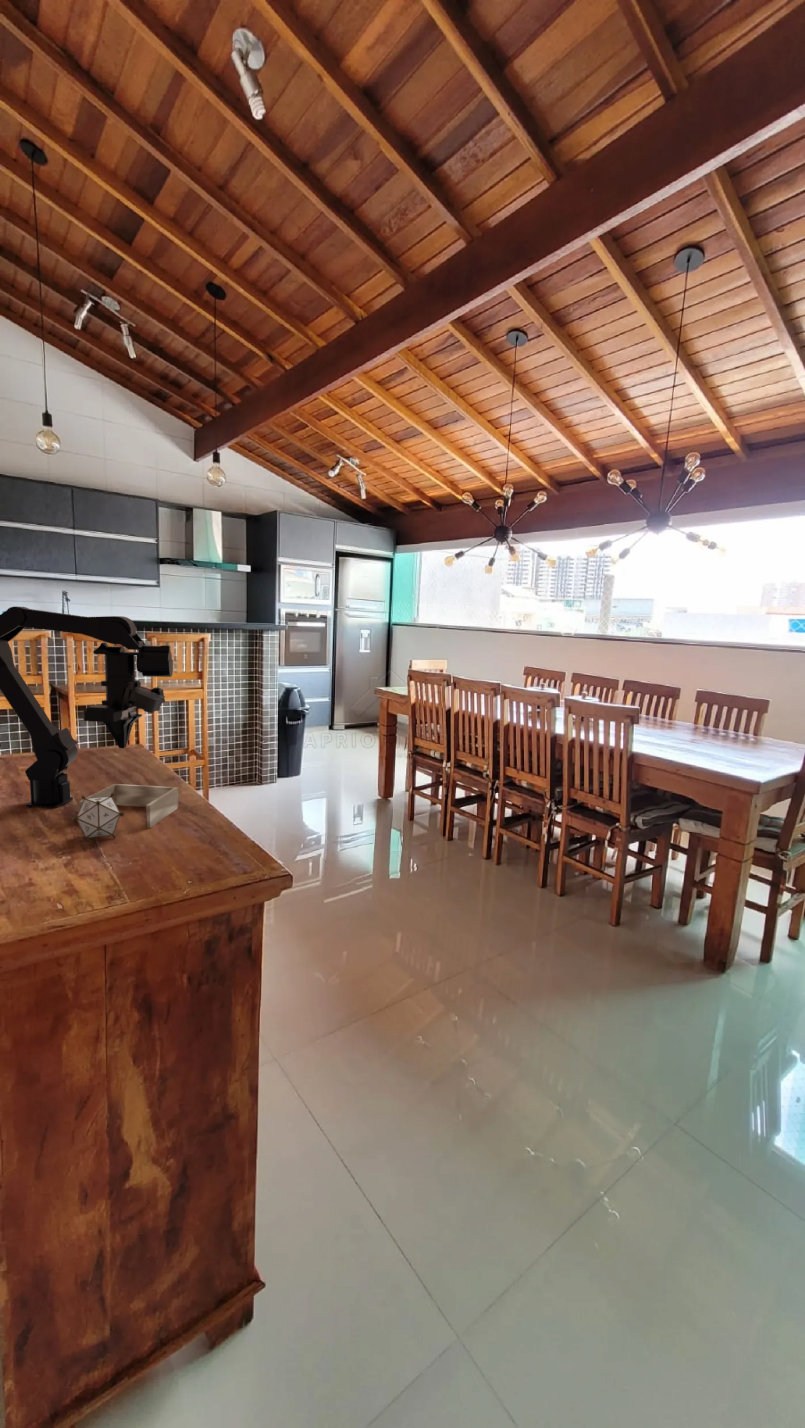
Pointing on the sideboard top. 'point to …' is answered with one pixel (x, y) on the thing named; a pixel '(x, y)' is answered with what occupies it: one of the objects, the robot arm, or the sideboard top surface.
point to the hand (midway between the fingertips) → (122, 748)
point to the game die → (98, 816)
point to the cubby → (143, 799)
